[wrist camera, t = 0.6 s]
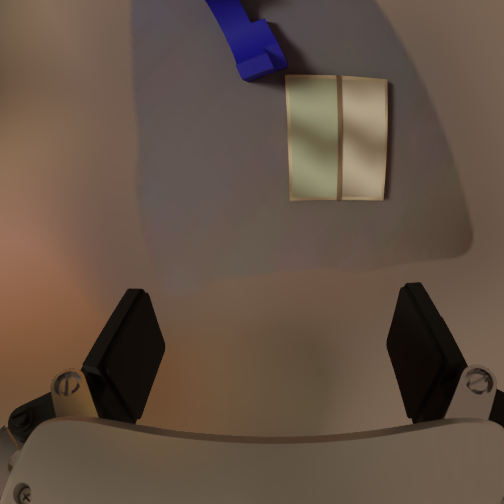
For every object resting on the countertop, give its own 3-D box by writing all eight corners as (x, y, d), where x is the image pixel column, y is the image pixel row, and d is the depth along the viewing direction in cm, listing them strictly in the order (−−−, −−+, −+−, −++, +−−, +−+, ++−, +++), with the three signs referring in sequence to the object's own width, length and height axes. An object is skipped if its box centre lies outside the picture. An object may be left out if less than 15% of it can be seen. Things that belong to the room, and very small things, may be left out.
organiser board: (284, 75, 29) (285, 74, 27) (383, 80, 28) (388, 79, 26) (289, 197, 35) (290, 201, 34) (380, 196, 34) (383, 201, 33)
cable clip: (287, 67, 28) (289, 61, 23) (248, 82, 29) (242, 79, 24) (243, -20, 23) (236, -40, 18) (205, -5, 24) (191, -21, 19)
